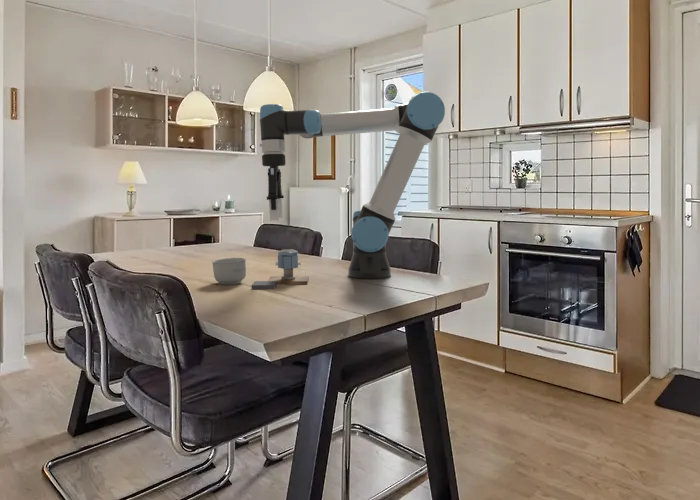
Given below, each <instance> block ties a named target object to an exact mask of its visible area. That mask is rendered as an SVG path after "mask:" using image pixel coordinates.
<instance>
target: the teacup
mask: <svg viewBox="0 0 700 500" xmlns="http://www.w3.org/2000/svg"><path fill="white" fill-rule="evenodd" d="M246 263H247V262H246V258H244V257H229V258H228V257H227V258H221V259H216V260H213V261H212V262H211V264H212V270H213V277H214V279H215V281H216V282H217V283H219V284H220V285H224V286H226V285H227V286H230V285H236V284H240V283H242V281H243V280H244V279H245V278H246V275H247V267H246V266H247V265H246Z"/></svg>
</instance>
